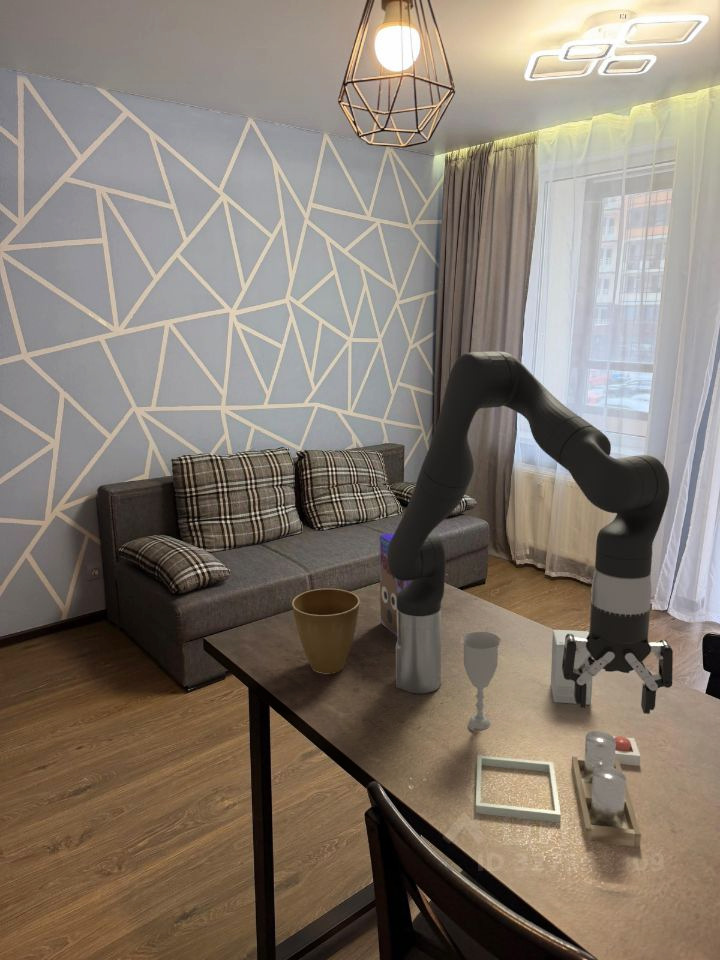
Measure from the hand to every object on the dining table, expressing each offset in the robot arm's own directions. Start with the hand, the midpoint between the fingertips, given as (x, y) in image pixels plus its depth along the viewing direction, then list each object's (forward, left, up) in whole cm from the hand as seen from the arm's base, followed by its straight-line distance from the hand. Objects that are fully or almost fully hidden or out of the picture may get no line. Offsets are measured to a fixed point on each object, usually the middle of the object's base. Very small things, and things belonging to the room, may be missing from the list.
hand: (613, 708), depth 93 cm
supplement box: (-1, +38, -20) cm, 43 cm away
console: (+5, +17, -20) cm, 27 cm away
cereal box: (-38, +61, -20) cm, 75 cm away
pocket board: (0, +4, -20) cm, 21 cm away
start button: (+5, +17, -19) cm, 26 cm away
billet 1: (0, +9, -19) cm, 21 cm away
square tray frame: (-13, +5, -20) cm, 24 cm away
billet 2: (0, 0, -19) cm, 19 cm away
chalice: (-19, +23, -20) cm, 36 cm away
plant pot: (-53, +42, -20) cm, 71 cm away
